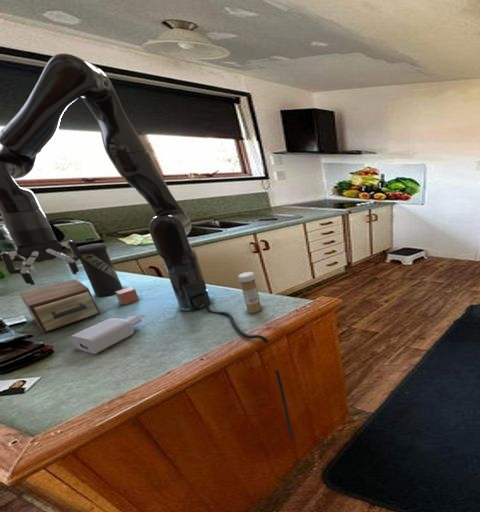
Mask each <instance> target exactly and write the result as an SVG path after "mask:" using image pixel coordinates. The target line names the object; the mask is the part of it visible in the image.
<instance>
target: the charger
mask: <svg viewBox="0 0 480 512" xmlns="http://www.w3.org/2000/svg"><path fill="white" fill-rule="evenodd" d="M145 317H146V314H144V315H142V314H141V313H140V314H138V315H130V316H128V317H126V318H124V319H122V318H117V317H110V318H109V317H108V318H107V319H105V320H103V321H101V322H98V323H96V324H93V325H92V326H89V327H87V328H85V329H83V330H81V331H78V332H76V333H74V334H72V335H70V336H69V337H70V339H71V341H72V343H73V345H74V347H75V348H76V349H77V350H80V351H83V352H86V353H91V354H94V355H96V354H99V353H100V352H103V351H104V350H106V349H107V348H109V347H111V346H114V345H115V344H117V343H120V342H122V341H123V340H125V339H127V338H128V337H130V336H132V335H134V333H135V329H134V326H136V325H138V324H140V323H141V322H143V320H142V319H143V318H145Z"/></svg>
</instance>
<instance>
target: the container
mask: <svg viewBox="0 0 480 512" xmlns="http://www.w3.org/2000/svg"><path fill="white" fill-rule="evenodd" d="M77 248H78V250H79V252H80V254H81V255H82V259H79V261H80V263H81V265H82V267H83V269H84V272H85V275H86V276H87V278H88V281H89V284H90V285H91V288H92V290H93V292H94V295H95V296H96V297H105V296H106V297H107V296H110V295H114V294H116V293H115V292H116V291H119V290H122V289H124V287H123V285H122V283H121V281H120V279H119V276H118V274H117V272H116V269H115V267H114V264H113V262H112V260H111V258H110V256H109V253H108V251H107V249H108V245H107V244H106V243H102V242H100V243H99V242H97V243H90V244H86V245H81V246H77Z"/></svg>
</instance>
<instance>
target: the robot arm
mask: <svg viewBox="0 0 480 512" xmlns="http://www.w3.org/2000/svg"><path fill="white" fill-rule="evenodd" d="M116 92H117V91H116V90H115V88H114V85H113V84H112V82H111V80H110V79H109V77H108V75H107V74H106V73H105V72H104V71H103V70H102V69H101V68H99V67H98V66H96V65H95V64H93V63H91V62H89V61H87V60H85V59H82V58H81V57H78V56H76V55H73V54H70V53H57V54H54V55H53V56H51V58H49V60H48V61H47V63H46V64H45V67H44V68H43V69H42V72H41V74H40V76H39V78H38V80H37V82H36V84H35V86H34V87H33V88H32V91H31V93H30V94H29V96H28V98H27V99H26V100H25V103H23V105H22V107H21V108H20V109H19V110H18V112H17V113H16V114H15V115H14V116H13V118H11V119H10V120H9V122H8V123H7V124H6V125H5V126H4V127H3V128H2V129H1V130H0V145H1V148H0V216H1V218H2V221H3V224H4V226H5V229H6V230H7V232H8V233H9V235H10V237H11V239H12V242H13V243H14V245H15V248H16V250H15V251H14V250H13V251H1V252H0V257H1V259H2V262H3V264H4V266H5V269H6V271H7V272H8V274H10V275H15V274H18V275H20V276H21V277H22V279H23V281H24V282H25V284H26V285H29V284H30V286H34V285H36V284H35V282H34V279H33V277H32V275H31V274H30V272H29V270H30V269H31V267H32V266H33V264H34V263H42V262H45V261H51V260H54V259H56V258H59V259H61V260H64V261H66V262H67V265H68V267H69V269H70V271H71V274H72V275H77V274H78V272H80V271H79V268H78V265H77V261H80V259H82V255H81V254H80V252H79V250H78V246H77V245H76V242H75V241H74V240H71V239H68V240H66V241H63V242H59V240H57V237H56V235H55V232H54V231H53V229H52V227H51V225H50V222H49V220H48V218H47V216H46V214H45V213H44V212H43V210H42V208H41V206H40V204H39V202H38V199H37V197H36V196H35V194H34V192H33V191H32V190H31V189H28V188H23V187H20V186H19V185H18V184H17V182H16V181H15V180H18V179H21V178H24V177H25V176H27V175H28V174H29V173H30V172H31V171H32V170H33V168H34V166H35V164H36V162H37V159H38V156H39V154H40V153H41V152H42V151H43V150H44V149H45V147H47V145H49V144H50V142H51V141H52V140H53V139H54V138H55V136H56V134H57V132H58V130H59V126H60V122H61V118H62V116H63V114H64V112H65V111H66V110H67V108H68V107H69V106H70V105H72V103H74V102H75V101H77V100H78V99H79V98H81V100H82V101H83V102H84V103H85V105H86V106H87V108H88V109H89V110H90V112H91V113H92V115H93V116H94V119H95V120H96V123H97V124H98V127H99V130H100V134H101V140H102V144H103V148H104V151H105V153H106V155H107V157H108V159H109V160H110V162H111V163H112V165H113V166H114V168H115V170H116V172H117V173H118V174H119V175H120V177H121V178H122V179H123V180H124V181H125V182H126V183H127V184H128V185H129V186H130V187H131V188H133V189H134V190H135V191H136V192H137V193H138V194H139V195H141V197H142V198H143V199H144V200H145V201H146V202H147V204H148V205H149V207H150V209H151V210H152V212H153V213H154V217H153V218H152V219H151V220H150V221H149V225H148V229H149V234H150V237H151V240H152V242H153V245H154V247H155V249H156V252H157V254H158V256H159V257H160V258H161V259H162V261H163V264H164V267H165V270H166V273H167V275H168V279H169V281H170V285H171V287H172V290H173V292H174V296H175V299H176V302H177V305H178V308H179V310H180V311H182V312H189V311H190V312H195V311H197V310H199V309H201V308H203V307H205V309H206V311H207V312H208V313H209V314H216V315H225V316H227V317H228V318H229V320H230V323H231V325H232V326H233V328H234V329H235V331H236V333H238V334H239V335H240V336H242V337H244V338H246V339H260V340H262V341H263V342H265V343H269V342H270V340H269V339H267V338H266V337H265V336H264V335H261V334H247V333H245V332H244V331H242V330H241V328H240V327H239V326H238V325H237V324H236V322H235V320H234V317H233V316H232V314H231V313H230V312H228V311H213V310H211V309H210V305H211V297H210V294H209V290H208V288H207V285H206V281H205V278H204V274H203V272H202V271H203V270H202V268H201V264H200V260H199V257H198V253H197V251H196V249H195V248H193V247H191V244H190V241H189V238H188V235H189V233H190V232H191V230H192V223H191V220H190V218H189V216H188V215H187V214H186V212H185V211H184V210H183V208H182V206H181V205H180V204H179V202H178V201H177V200H176V198H175V196H174V195H173V194H172V192H171V190H170V189H169V187H168V184H167V183H166V181H165V179H164V177H163V175H162V174H161V172H160V171H159V169H158V167H157V165H156V162H155V161H154V160H153V157H152V156H151V154H150V152H149V151H148V149H147V147H146V145H145V144H144V143H143V141H142V139H141V137H140V136H139V134H138V132H137V130H136V129H135V127H134V126H133V123H132V122H131V121H130V119H129V118H128V116H127V114H126V112H125V110H124V108H123V105H122V103H121V101H120V99H119V97H118V94H117V93H116ZM63 247H65V248H66V249H69V250H71V252H72V254H73V256H68V255H66V254H65V253H62V252H61V250H62V249H63ZM16 256H19V257H22V258H24V260H23V261H22V264H21V265H20V267H16V268H15V266H14V264H13V260H15V259H16ZM275 376H276V378H277V383H278V387H279V390H280V395H281V400H282V404H283V410H284V414H285V419H286V424H287V429H288V434H289V438H290V441H291V442H294V441H295V439H294V435H293V430H292V425H291V420H290V415H289V409H288V406H287V405H288V404H287V400H286V395H285V390H284V386H283V383H282V379H281V374H280V371H279V369H276V370H275Z"/></svg>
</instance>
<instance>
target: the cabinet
mask: <svg viewBox="0 0 480 512" xmlns="http://www.w3.org/2000/svg"><path fill="white" fill-rule="evenodd" d="M85 292H88V293H89V294H90V297H91V299H92V301H93V303H94V305H95V307H96V310H97V312H98V313H97V314H94V315H91V316H88V317H86V318H83V319H80V320H77V321H74V322H71V323H69V324H66V325H63V326H60V327H57V328H54V329H52V330H49V331H46V329H45V327H44V326H43V324H42V322H41V320H40V318H39V317H38V315H37V313H36V311H35V309H34V308H35V307H36V306H39V305H43V304H46V303H49V302H53V301H56V300H59V299H63V298H66V297H69V296H73V295H76V294H79V293H85ZM19 296H20V297H21V300H22V302H23V303H24V304H25V306H26V308H27V310H28V311H29V314H30V316H31V318H32V319H33V320H34V322H35V324H36V325H37V326H38V327H39V329H40V330H41V331H42V333H43V334H46V333H49V332H53V331H54V330H57V329H60V328H63V327H66V326H68V325H71V324H75V323H77V322H79V321H83V320H86V319H89V318H91V317H94V316H97V315H100V314H101V313H100V311H99V308H98V305H97V303H96V302H95V300H94V296H93V295H92V293H91V290H90V288H89V287H87V286H86V285H85V284H84V283H82V282H80V281H79V280H77V279H70V280H66V281H63V282H59V283H55V284H51V285H48V286H44V287H40V288H36V289H33V290H29V291H25V292H21V293H19Z"/></svg>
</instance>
